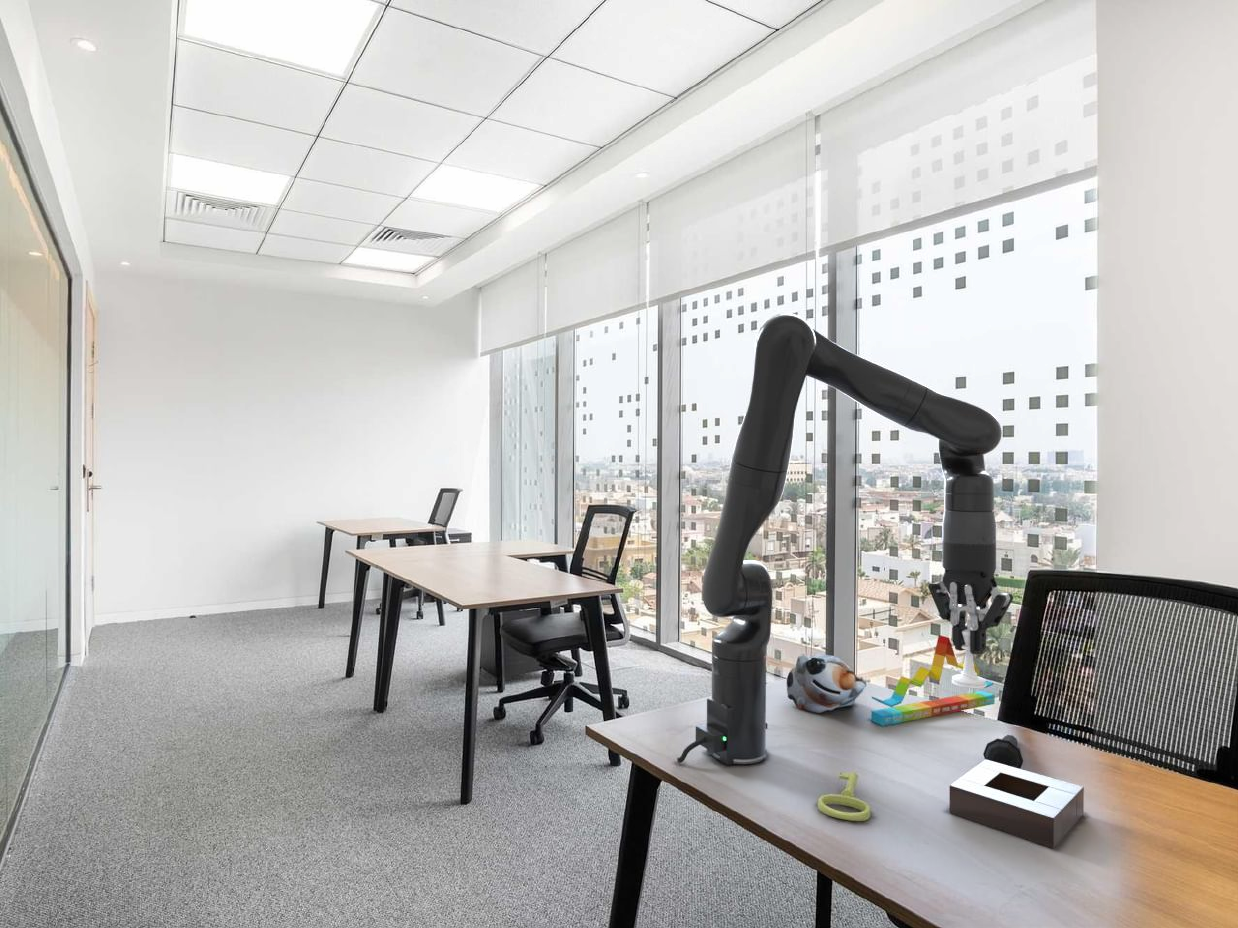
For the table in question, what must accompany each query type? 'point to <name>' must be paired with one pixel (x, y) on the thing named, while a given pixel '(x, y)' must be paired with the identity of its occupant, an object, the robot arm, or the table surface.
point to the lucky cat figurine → (823, 683)
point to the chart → (931, 706)
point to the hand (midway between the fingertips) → (968, 651)
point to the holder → (1017, 802)
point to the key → (845, 801)
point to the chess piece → (968, 666)
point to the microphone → (1004, 752)
